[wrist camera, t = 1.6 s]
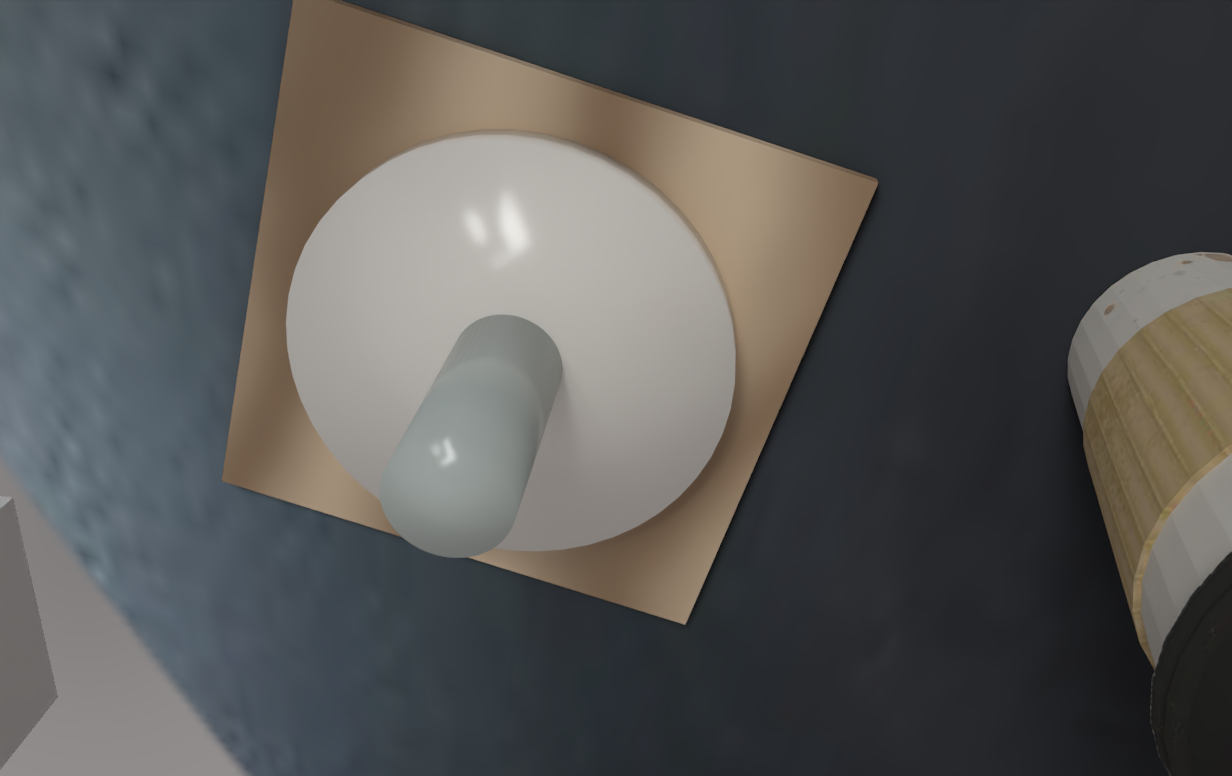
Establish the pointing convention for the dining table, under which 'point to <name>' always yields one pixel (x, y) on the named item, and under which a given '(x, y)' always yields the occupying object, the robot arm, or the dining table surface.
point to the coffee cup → (1168, 485)
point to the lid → (512, 343)
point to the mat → (598, 118)
